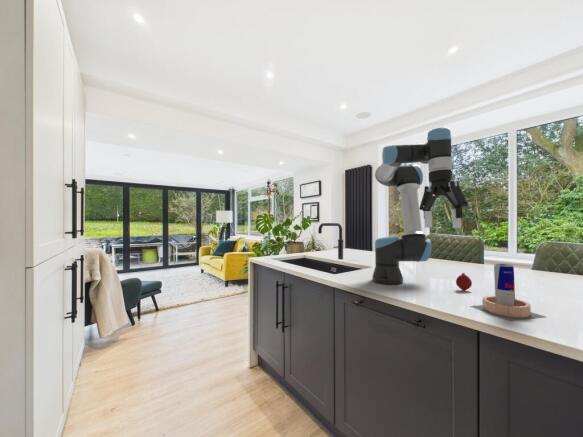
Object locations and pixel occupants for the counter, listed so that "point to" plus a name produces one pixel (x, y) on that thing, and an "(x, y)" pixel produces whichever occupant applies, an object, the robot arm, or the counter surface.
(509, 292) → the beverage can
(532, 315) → the mat
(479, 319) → the counter surface
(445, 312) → the counter surface
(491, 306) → the bowl
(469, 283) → the onion
